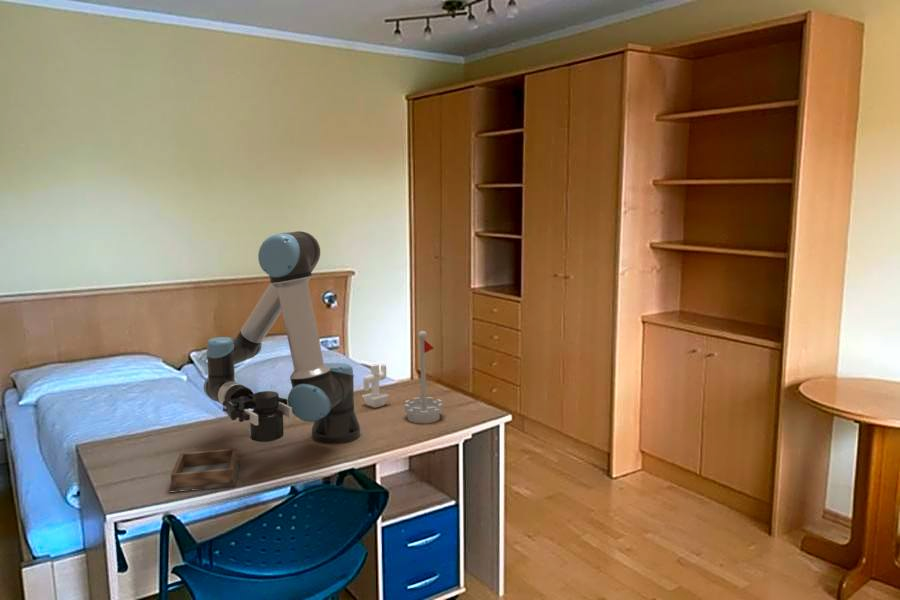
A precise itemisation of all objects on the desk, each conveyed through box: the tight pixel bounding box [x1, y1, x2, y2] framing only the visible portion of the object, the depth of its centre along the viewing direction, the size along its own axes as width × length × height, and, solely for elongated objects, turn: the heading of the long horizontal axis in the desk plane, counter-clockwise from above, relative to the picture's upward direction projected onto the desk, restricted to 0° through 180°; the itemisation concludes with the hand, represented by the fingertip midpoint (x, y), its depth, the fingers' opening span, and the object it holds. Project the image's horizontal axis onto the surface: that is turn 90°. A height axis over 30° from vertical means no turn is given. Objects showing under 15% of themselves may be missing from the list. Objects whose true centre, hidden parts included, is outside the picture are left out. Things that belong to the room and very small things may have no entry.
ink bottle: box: [248, 390, 284, 443], centre depth 181 cm, size 10×9×12 cm
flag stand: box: [403, 330, 444, 424], centre depth 223 cm, size 13×13×30 cm
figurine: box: [361, 363, 390, 408], centre depth 239 cm, size 7×9×15 cm
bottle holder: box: [169, 448, 241, 492], centre depth 178 cm, size 16×16×4 cm
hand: (274, 416), depth 178 cm, fingers closed on ink bottle, 9 cm apart
